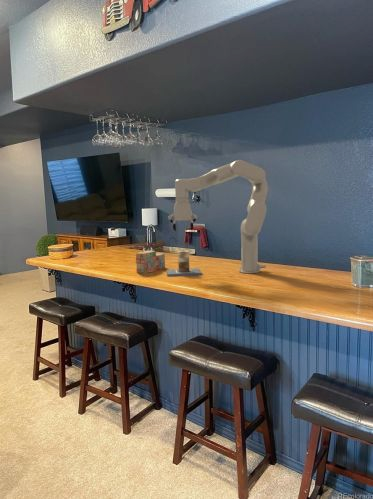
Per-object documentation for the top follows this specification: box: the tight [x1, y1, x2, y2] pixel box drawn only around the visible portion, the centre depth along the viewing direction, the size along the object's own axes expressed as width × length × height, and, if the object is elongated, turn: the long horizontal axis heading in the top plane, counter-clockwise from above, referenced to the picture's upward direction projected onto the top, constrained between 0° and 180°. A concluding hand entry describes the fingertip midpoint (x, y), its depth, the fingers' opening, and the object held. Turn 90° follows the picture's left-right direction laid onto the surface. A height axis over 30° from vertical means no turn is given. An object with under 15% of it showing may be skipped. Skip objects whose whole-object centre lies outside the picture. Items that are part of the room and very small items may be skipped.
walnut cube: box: [177, 261, 190, 272], centre depth 221 cm, size 6×6×6 cm
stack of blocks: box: [135, 250, 166, 274], centre depth 233 cm, size 21×6×12 cm, turn 148°
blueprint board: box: [166, 267, 203, 277], centre depth 222 cm, size 20×14×1 cm
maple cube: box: [177, 249, 190, 263], centre depth 220 cm, size 6×6×6 cm
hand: (183, 230), depth 218 cm, fingers open, 9 cm apart
